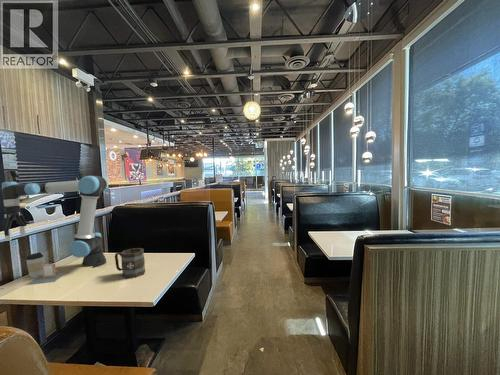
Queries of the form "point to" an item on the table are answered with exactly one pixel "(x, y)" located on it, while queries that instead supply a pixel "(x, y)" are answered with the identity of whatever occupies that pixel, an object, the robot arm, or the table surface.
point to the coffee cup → (35, 264)
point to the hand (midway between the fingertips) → (16, 238)
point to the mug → (131, 262)
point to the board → (45, 279)
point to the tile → (49, 270)
